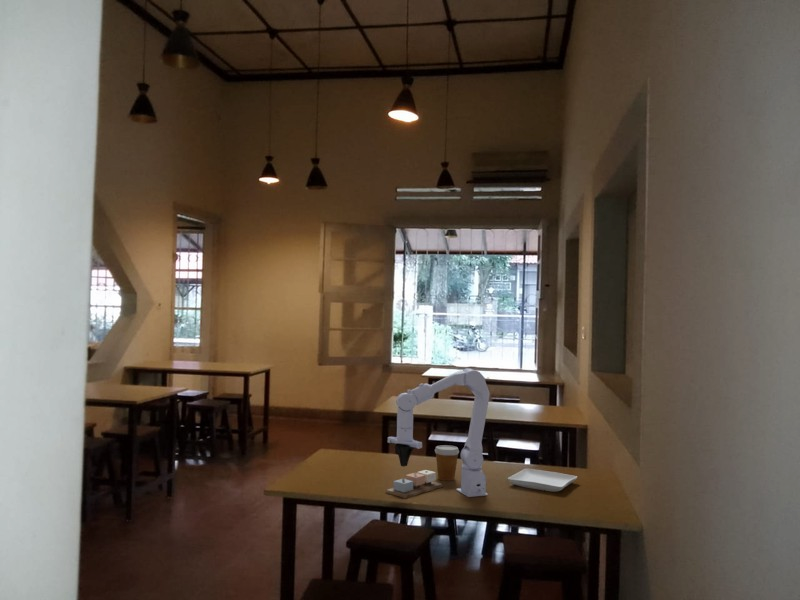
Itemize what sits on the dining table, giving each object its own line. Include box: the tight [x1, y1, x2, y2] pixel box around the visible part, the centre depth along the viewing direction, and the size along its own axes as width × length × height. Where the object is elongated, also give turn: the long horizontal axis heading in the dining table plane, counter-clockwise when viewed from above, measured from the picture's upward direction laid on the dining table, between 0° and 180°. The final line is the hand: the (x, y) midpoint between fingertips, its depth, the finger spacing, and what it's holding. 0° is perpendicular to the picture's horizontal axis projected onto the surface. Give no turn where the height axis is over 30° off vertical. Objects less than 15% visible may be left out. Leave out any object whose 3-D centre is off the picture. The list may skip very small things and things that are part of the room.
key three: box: [392, 478, 413, 492], centre depth 223 cm, size 5×5×3 cm
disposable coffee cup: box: [434, 444, 460, 482], centre depth 245 cm, size 10×10×12 cm
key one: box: [416, 469, 437, 483], centre depth 233 cm, size 5×5×3 cm
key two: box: [404, 472, 425, 486], centre depth 228 cm, size 5×5×3 cm
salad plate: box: [507, 468, 578, 493], centre depth 240 cm, size 21×21×3 cm
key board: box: [385, 481, 443, 499], centre depth 228 cm, size 21×9×3 cm, turn 139°
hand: (404, 465), depth 223 cm, fingers closed
